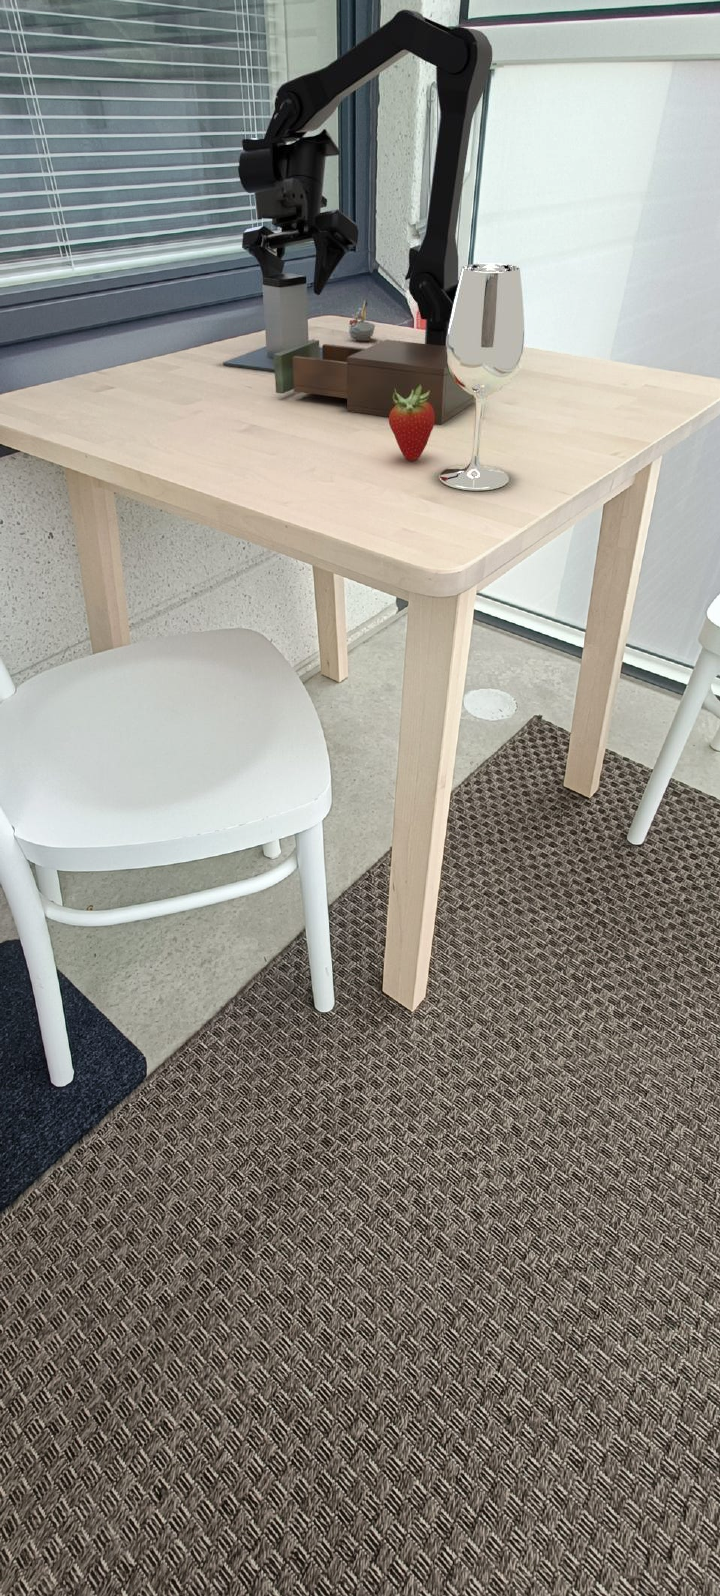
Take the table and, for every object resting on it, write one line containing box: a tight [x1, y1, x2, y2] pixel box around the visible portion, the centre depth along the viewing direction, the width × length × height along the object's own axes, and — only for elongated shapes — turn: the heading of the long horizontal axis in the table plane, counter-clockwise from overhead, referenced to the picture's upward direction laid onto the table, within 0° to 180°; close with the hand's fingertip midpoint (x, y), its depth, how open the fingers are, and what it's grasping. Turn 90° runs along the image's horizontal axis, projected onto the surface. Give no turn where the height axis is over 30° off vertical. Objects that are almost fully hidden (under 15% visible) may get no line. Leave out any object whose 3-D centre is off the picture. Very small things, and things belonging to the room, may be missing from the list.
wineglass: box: [438, 262, 525, 492], centre depth 89 cm, size 8×8×20 cm
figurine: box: [348, 299, 376, 342], centre depth 148 cm, size 5×4×6 cm
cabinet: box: [346, 339, 475, 425], centre depth 116 cm, size 14×12×7 cm
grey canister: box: [261, 272, 310, 358], centre depth 136 cm, size 6×4×11 cm
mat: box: [222, 346, 323, 373], centre depth 139 cm, size 16×14×1 cm
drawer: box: [274, 339, 367, 399], centre depth 120 cm, size 14×10×5 cm
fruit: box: [388, 384, 435, 462], centre depth 98 cm, size 5×5×8 cm
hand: (293, 297), depth 134 cm, fingers open, 9 cm apart
